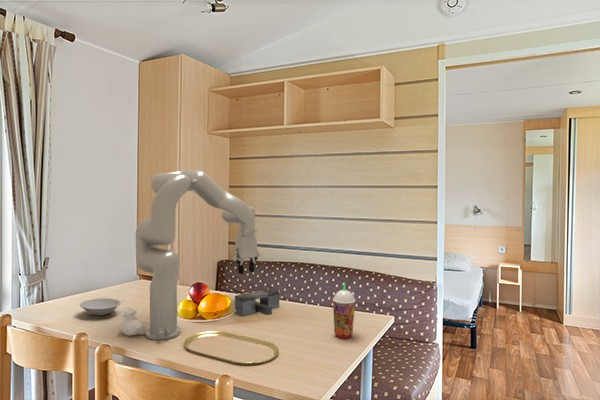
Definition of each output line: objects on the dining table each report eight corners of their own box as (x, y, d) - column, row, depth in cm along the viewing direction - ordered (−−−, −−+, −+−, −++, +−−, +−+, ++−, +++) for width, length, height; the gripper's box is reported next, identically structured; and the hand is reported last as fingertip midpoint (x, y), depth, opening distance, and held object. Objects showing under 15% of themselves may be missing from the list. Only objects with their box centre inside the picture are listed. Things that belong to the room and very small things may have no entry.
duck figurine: (121, 336, 154) (104, 318, 148) (135, 320, 159) (118, 301, 153) (141, 343, 148) (124, 324, 142) (155, 326, 153) (139, 307, 147)
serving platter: (208, 332, 156) (208, 327, 156) (288, 350, 139) (288, 346, 139) (171, 349, 139) (171, 344, 139) (258, 372, 123) (258, 367, 123)
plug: (273, 313, 178) (273, 302, 177) (265, 315, 175) (265, 304, 174) (246, 303, 192) (246, 292, 192) (238, 305, 189) (238, 294, 189)
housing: (279, 307, 187) (279, 290, 186) (242, 316, 173) (242, 298, 173) (271, 304, 191) (271, 288, 191) (234, 312, 178) (235, 295, 177)
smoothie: (328, 337, 151) (329, 283, 150) (337, 330, 158) (338, 279, 157) (350, 341, 147) (351, 286, 146) (357, 334, 154) (358, 281, 153)
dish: (129, 313, 174) (129, 302, 174) (97, 323, 162) (97, 311, 162) (102, 307, 183) (102, 296, 183) (71, 316, 171) (71, 304, 170)
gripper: (256, 231, 196) (256, 268, 197) (226, 233, 184) (225, 273, 185) (266, 232, 190) (265, 271, 191) (235, 235, 179) (235, 276, 180)
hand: (246, 272), depth 188 cm, fingers open, 5 cm apart
